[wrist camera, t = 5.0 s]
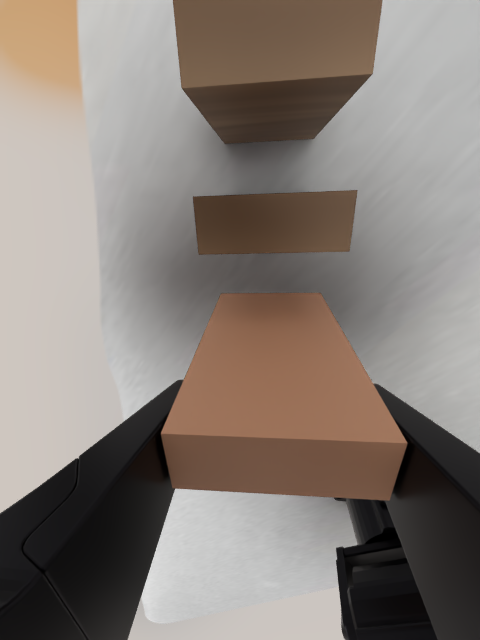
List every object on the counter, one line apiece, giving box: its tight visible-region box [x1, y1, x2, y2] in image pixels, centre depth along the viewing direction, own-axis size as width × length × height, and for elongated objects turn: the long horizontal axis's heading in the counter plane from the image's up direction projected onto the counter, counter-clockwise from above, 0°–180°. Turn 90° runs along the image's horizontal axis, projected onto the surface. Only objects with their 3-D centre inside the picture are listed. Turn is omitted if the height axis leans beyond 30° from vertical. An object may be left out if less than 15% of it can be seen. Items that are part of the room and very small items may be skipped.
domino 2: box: [193, 190, 357, 255], centre depth 13 cm, size 2×5×9 cm, turn 92°
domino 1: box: [173, 0, 382, 144], centre depth 11 cm, size 2×5×9 cm, turn 92°
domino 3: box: [161, 293, 407, 501], centre depth 10 cm, size 2×5×9 cm, turn 92°
